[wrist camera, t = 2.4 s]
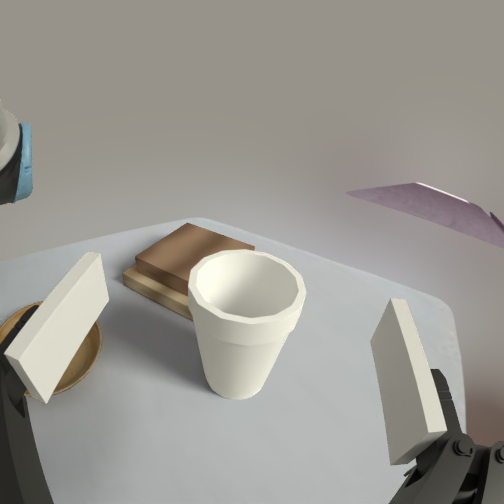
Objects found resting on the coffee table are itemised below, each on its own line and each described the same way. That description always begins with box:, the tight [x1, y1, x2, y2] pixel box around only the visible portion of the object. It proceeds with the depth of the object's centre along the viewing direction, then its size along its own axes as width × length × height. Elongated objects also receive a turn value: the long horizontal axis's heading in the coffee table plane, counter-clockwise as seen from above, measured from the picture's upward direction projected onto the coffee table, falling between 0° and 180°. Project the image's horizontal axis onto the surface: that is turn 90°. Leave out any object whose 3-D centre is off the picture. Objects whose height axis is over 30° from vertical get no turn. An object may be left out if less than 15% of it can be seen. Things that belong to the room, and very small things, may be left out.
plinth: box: [122, 223, 255, 320], centre depth 45 cm, size 15×15×4 cm
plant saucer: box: [0, 301, 102, 397], centre depth 29 cm, size 15×15×3 cm
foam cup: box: [188, 249, 306, 400], centre depth 29 cm, size 10×9×13 cm
